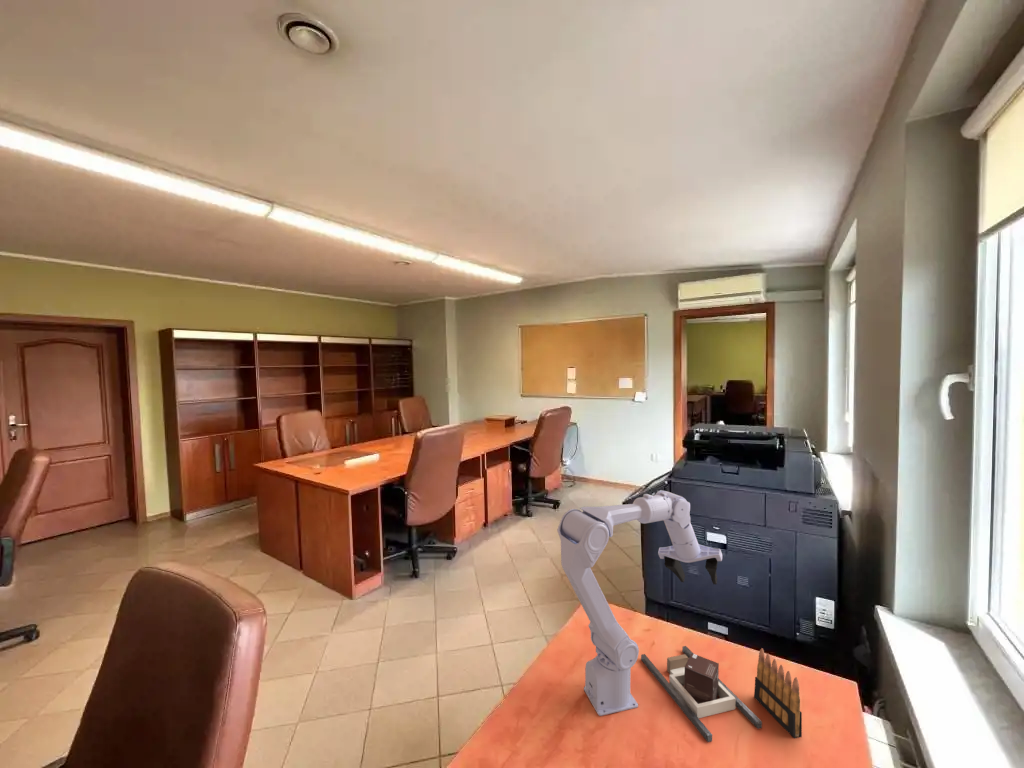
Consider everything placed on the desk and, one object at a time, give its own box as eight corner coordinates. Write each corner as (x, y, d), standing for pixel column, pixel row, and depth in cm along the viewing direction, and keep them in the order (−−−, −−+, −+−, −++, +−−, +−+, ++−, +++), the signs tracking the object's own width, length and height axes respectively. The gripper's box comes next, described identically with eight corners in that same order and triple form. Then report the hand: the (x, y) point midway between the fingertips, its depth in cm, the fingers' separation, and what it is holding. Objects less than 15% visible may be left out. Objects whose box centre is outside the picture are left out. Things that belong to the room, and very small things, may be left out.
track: (707, 743, 84) (707, 735, 83) (641, 660, 107) (641, 654, 107) (761, 728, 87) (762, 721, 87) (685, 651, 110) (685, 645, 110)
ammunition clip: (753, 697, 95) (755, 646, 94) (760, 696, 95) (762, 644, 95) (794, 739, 84) (796, 681, 84) (802, 737, 85) (804, 680, 84)
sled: (697, 718, 89) (697, 704, 89) (658, 672, 102) (658, 659, 102) (735, 709, 91) (735, 694, 91) (692, 665, 105) (693, 652, 105)
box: (712, 712, 91) (713, 679, 90) (683, 698, 94) (683, 666, 94) (718, 694, 95) (719, 663, 95) (690, 682, 99) (691, 651, 99)
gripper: (716, 525, 101) (731, 569, 105) (656, 525, 110) (672, 566, 113) (713, 546, 96) (729, 592, 99) (650, 544, 104) (667, 587, 107)
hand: (698, 580), depth 106 cm, fingers open, 7 cm apart
